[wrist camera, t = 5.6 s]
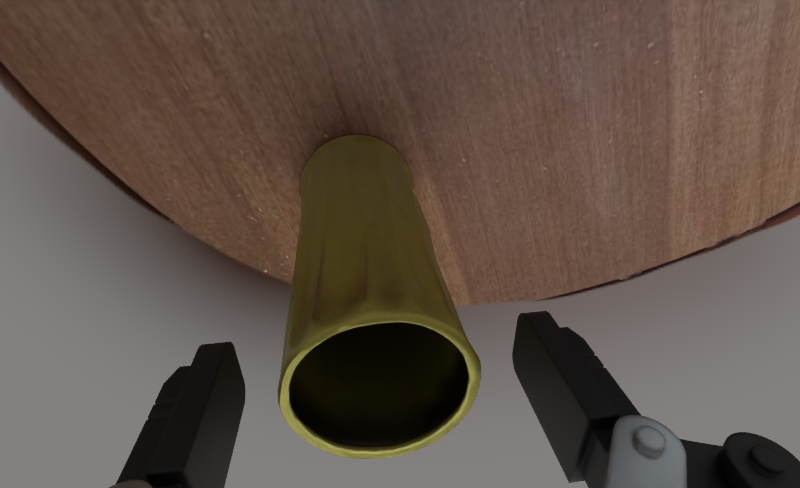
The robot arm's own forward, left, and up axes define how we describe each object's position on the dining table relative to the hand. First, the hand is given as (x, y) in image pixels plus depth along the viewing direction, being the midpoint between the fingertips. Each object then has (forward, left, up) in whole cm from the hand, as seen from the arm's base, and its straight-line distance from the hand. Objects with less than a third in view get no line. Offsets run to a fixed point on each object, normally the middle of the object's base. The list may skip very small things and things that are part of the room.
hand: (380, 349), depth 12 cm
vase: (0, 0, -13) cm, 13 cm away
